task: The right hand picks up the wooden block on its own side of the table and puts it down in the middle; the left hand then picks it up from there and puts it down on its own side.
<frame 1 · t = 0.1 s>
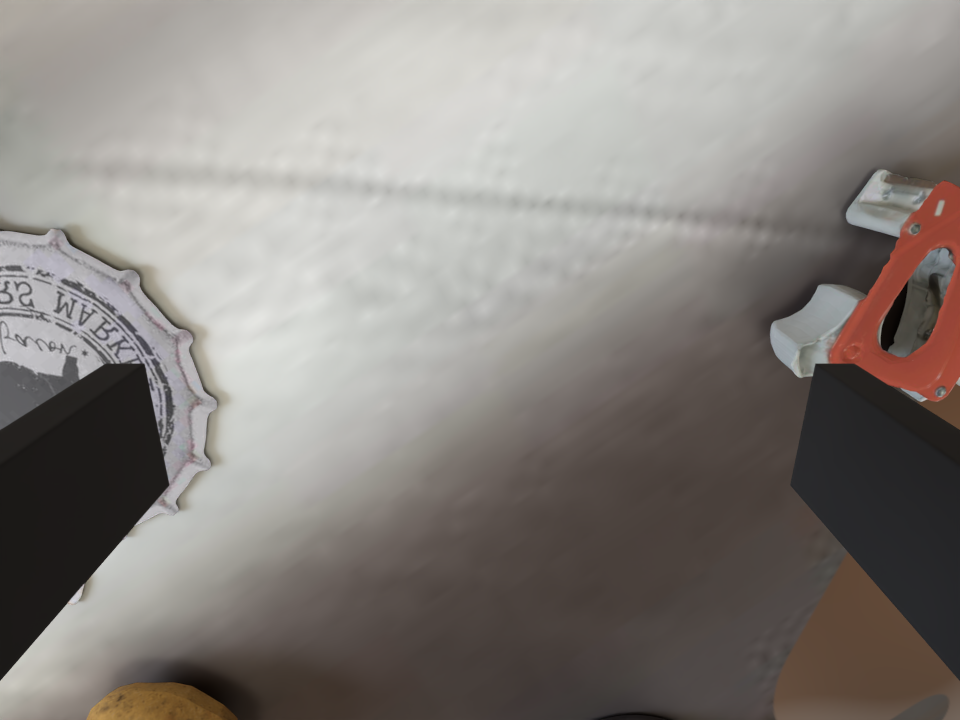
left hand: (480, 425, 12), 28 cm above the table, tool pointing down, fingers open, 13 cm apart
potato: (188, 699, 53), on the table
tape dispenser: (893, 318, 41), on the table
decorative wall hanging: (45, 434, 44), on the table
when the right hand's fingers open (4 cm above the table, at t = 13.5 s): block drops 1 cm, on the table.
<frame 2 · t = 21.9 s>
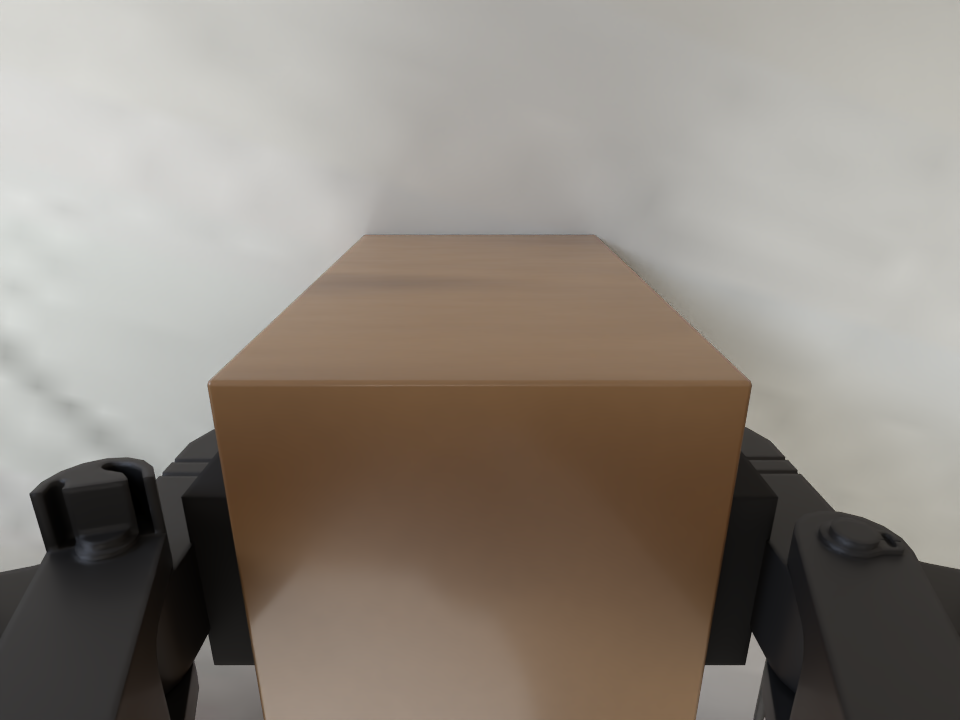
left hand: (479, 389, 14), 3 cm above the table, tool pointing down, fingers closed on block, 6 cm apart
block: (479, 347, 17), on the table, touching left hand
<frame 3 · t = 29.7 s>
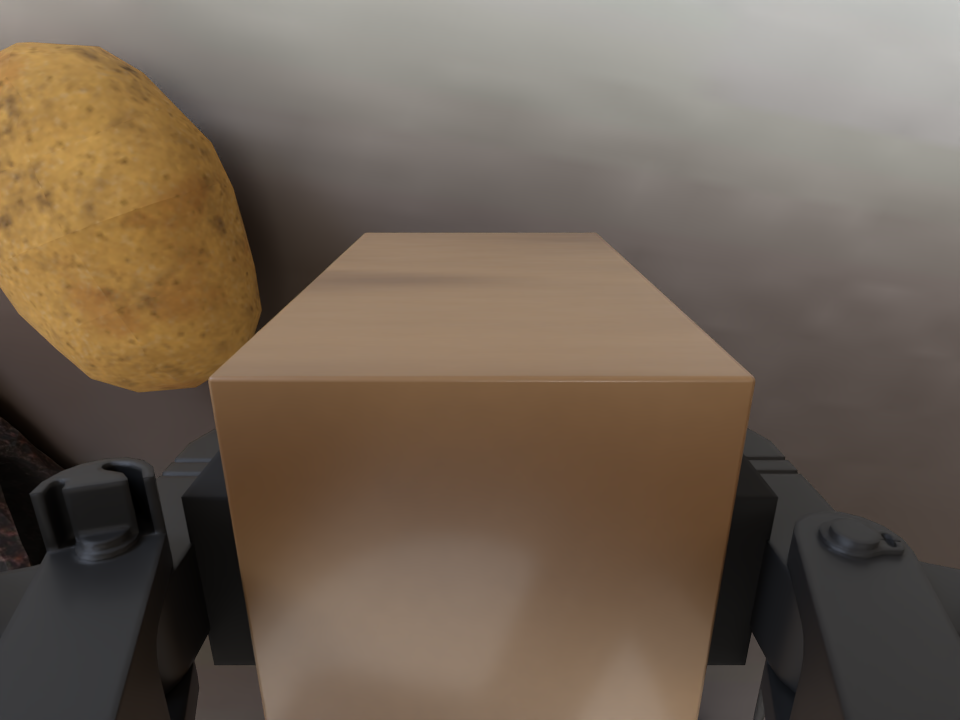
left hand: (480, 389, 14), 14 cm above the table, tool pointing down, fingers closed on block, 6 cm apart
block: (480, 345, 17), point 11 cm above the table, touching left hand
potato: (164, 215, 26), on the table
when the left hand's fingers open (4 cm above the table, at t = 37.9 s): block drops 1 cm, on the table.
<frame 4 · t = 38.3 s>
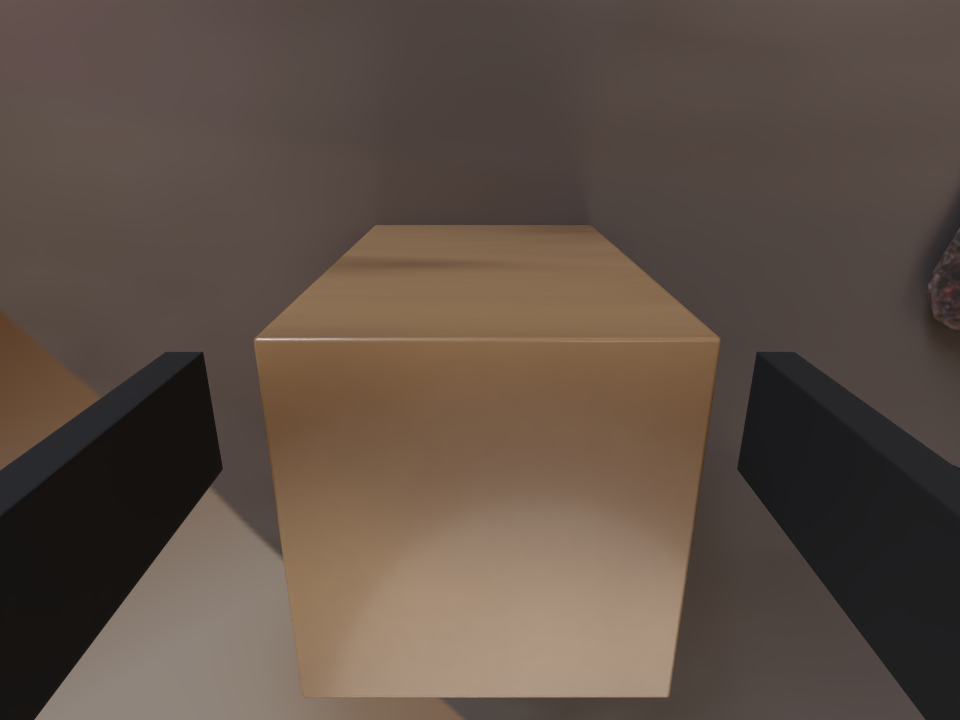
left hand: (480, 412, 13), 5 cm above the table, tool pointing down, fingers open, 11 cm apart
block: (482, 331, 18), on the table
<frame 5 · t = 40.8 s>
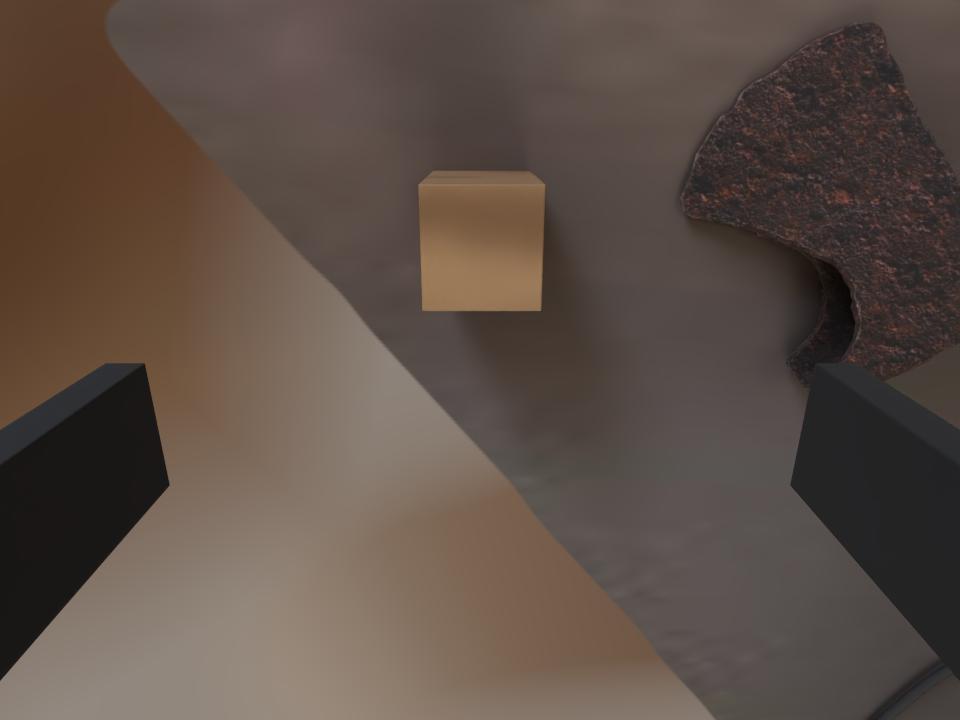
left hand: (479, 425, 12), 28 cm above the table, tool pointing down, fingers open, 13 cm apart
axe head: (821, 214, 38), on the table
block: (481, 221, 38), on the table
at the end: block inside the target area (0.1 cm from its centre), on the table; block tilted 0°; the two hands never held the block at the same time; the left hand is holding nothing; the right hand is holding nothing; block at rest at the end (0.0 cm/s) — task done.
